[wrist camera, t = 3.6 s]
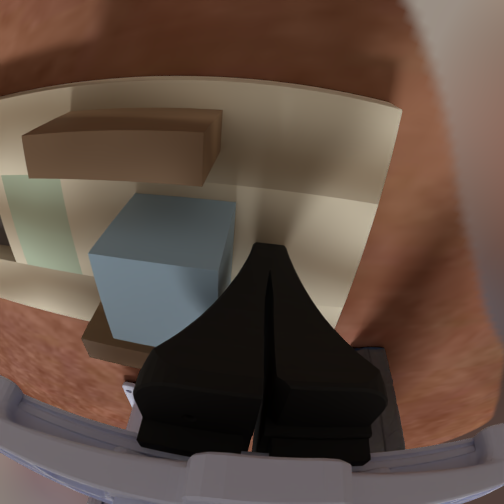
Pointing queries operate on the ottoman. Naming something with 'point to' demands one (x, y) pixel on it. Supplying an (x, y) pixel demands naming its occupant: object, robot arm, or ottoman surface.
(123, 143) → the cream flat tray
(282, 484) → the robot arm
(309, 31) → the ottoman surface
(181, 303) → the blue block
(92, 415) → the ottoman surface
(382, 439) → the vhs cassette tape
